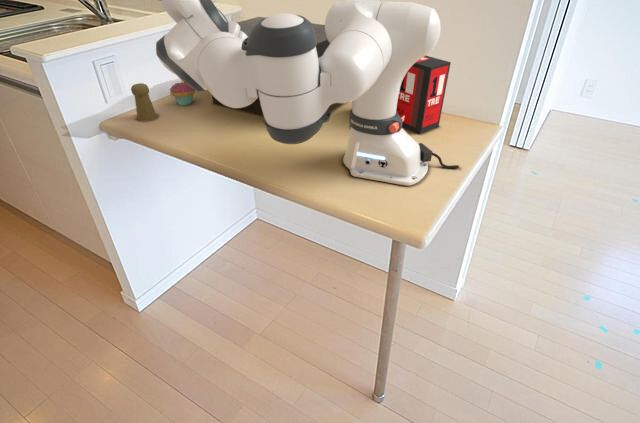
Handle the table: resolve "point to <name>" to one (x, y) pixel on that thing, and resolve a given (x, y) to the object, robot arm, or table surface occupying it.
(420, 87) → the cleaning product box
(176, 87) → the cupcake
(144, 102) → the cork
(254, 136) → the table surface
